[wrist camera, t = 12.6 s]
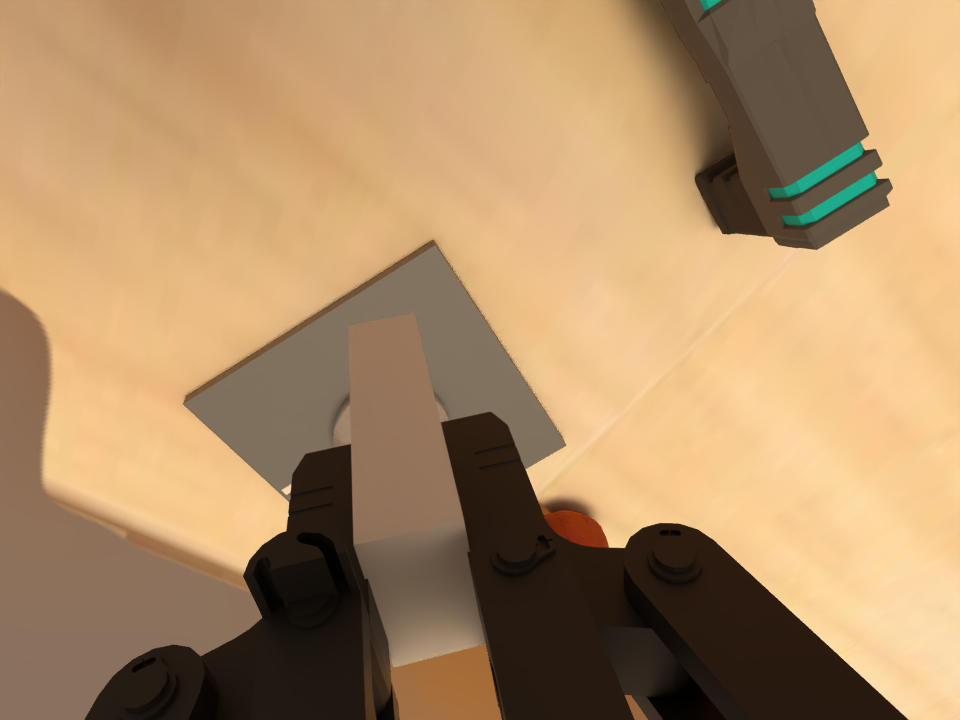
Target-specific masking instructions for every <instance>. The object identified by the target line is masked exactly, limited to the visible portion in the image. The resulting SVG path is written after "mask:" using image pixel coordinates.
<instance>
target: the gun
mask: <svg viewBox="0 0 960 720" xmlns="http://www.w3.org/2000/svg"><path fill="white" fill-rule="evenodd" d="M660 1H661V3H662V5H663V6H664V8H665V10H666V12H667V14H668V16H669V18H670V20H671V22H672V24H673V26H674V28H675V30H676V32H677V34H678V36H679V38H680V39H681V41H682V42H683V44H684V45H685V47H686V48H687V50H688V51H689V53H690V54H691V56H692V57H693V59H694V60H695V62H696V63H697V65H698V67H699V69H700V71H701V73H702V75H703V77H704V79H705V81H706V82H707V83H710V85H711V86H712V88H713V90H714V92H715V94H716V96H717V98H718V100H719V102H720V104H721V106H722V108H723V110H724V112H725V114H726V116H727V118H728V120H729V122H730V124H729V126H728V128H729V132H730V136H731V140H732V145H733V149H734V153H733V154H731V155H729V156H728V157H726V158H725V159H723V160H722V161H720V162H718V163H717V164H715V165H714V166H712V167H711V168H709V169H707V170H706V171H704V172H703V173H701V174H700V175H698V176H696V177H695V182H696V184H697V186H698V188H699V190H700V192H701V194H702V196H703V198H704V199H705V201H706V203H707V205H708V207H709V209H710V211H711V213H712V215H713V216H714V218H715V220H716V222H717V224H718V226H719V228H720V230H721V232H722V233H723V234H735V233H738V234H746V235H757V236H768V237H773V238H774V240H775V242H776V243H777V244H778V245H781V246H787V247H793V248H806V249H814V250H817V249H819V248H821V247H823V246H824V245H826V244H827V243H829V242H831V241H832V240H834V239H836V238H837V237H839V236H841V235H842V234H844V233H846V232H847V231H849V230H850V229H852V228H854V227H855V226H857V225H859V224H860V223H862V222H864V221H865V220H867V219H869V218H870V217H872V216H873V215H875V214H877V213H878V212H880V211H882V210H883V209H885V208H887V207H888V206H890V205H889V202H888V199H887V197H886V196H887V195H888V194H889V192H890V191H891V190H892V189H893V187H892V185H891V182H890V180H889V179H877V177H876V174H875V172H874V170H876V169H878V168H879V167H881V166H882V161H881V159H880V157H879V155H878V153H877V150H876V149H872V150H864V148H863V146H862V144H861V142H860V141H861V140H863V139H864V138H866V137H867V136H868V135H869V133H868V130H867V128H866V126H865V124H864V121H863V119H862V117H861V115H860V113H859V110H858V108H857V106H856V104H855V101H854V99H853V97H852V95H851V93H850V90H849V88H848V86H847V84H846V82H845V79H844V77H843V75H842V73H841V70H840V68H839V66H838V64H837V62H836V59H835V57H834V55H833V53H832V50H831V48H830V46H829V44H828V42H827V39H826V37H825V35H824V33H823V31H822V28H821V26H820V24H819V22H818V19H817V17H816V14H815V11H816V9H815V6H814V3H813V1H812V0H660Z"/></svg>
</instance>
